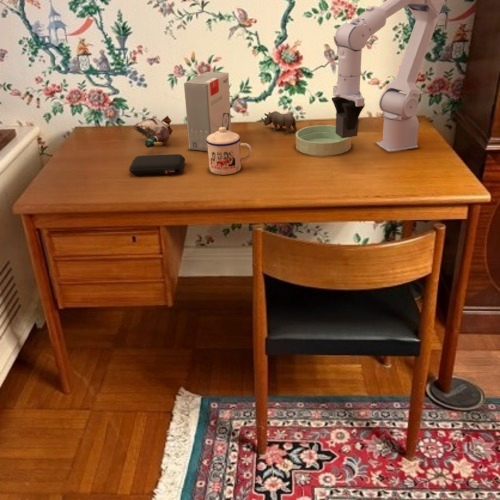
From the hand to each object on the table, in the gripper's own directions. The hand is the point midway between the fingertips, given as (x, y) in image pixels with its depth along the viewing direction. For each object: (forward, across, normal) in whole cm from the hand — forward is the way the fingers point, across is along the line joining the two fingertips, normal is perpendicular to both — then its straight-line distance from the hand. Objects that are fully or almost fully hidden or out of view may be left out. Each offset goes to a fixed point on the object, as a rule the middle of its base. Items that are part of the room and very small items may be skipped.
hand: (346, 126), depth 148 cm
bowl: (+10, -13, -1) cm, 16 cm away
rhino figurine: (+10, -33, -8) cm, 35 cm away
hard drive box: (+10, -30, -31) cm, 44 cm away
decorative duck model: (+10, -36, -49) cm, 62 cm away
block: (+2, 0, 0) cm, 2 cm away
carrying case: (+10, -14, -50) cm, 53 cm away
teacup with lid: (+10, -7, -31) cm, 33 cm away
